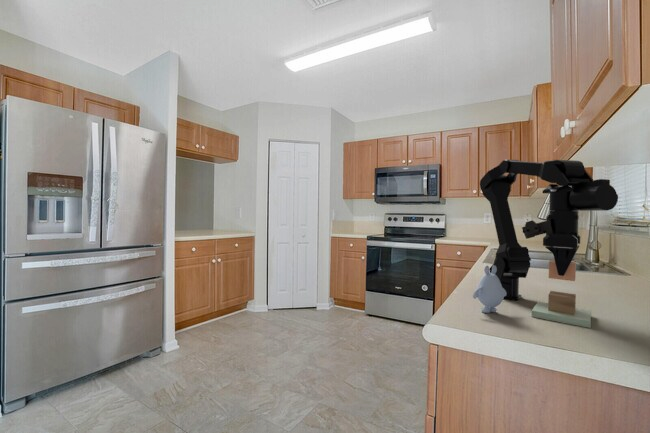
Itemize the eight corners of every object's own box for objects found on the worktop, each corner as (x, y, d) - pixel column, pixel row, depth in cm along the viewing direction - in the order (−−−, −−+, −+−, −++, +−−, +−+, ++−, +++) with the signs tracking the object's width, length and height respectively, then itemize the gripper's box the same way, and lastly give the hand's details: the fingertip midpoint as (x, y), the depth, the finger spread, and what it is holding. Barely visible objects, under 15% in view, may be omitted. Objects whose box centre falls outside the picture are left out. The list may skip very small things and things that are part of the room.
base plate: (537, 307, 84) (538, 301, 84) (591, 316, 77) (591, 310, 77) (531, 316, 76) (531, 310, 76) (590, 328, 69) (590, 321, 69)
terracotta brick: (550, 275, 80) (550, 259, 80) (575, 278, 77) (575, 262, 77) (548, 278, 76) (549, 261, 76) (574, 281, 73) (575, 264, 73)
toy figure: (495, 307, 83) (496, 262, 83) (516, 314, 77) (517, 266, 77) (463, 310, 80) (464, 264, 80) (482, 318, 74) (483, 268, 74)
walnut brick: (550, 306, 80) (550, 290, 80) (575, 310, 77) (575, 294, 76) (548, 310, 76) (548, 294, 76) (574, 315, 73) (574, 298, 73)
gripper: (530, 211, 89) (529, 265, 89) (518, 210, 75) (516, 274, 75) (581, 211, 81) (579, 270, 81) (578, 210, 67) (576, 281, 67)
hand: (562, 274), depth 76 cm, fingers closed on terracotta brick, 5 cm apart
